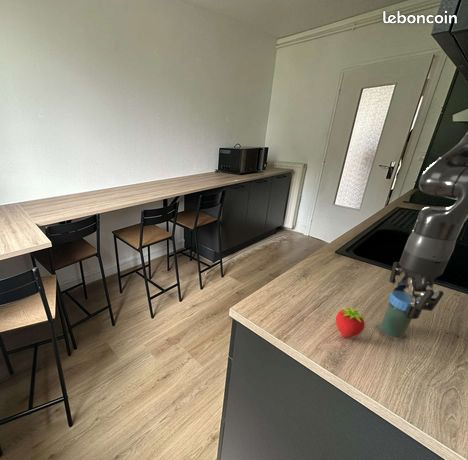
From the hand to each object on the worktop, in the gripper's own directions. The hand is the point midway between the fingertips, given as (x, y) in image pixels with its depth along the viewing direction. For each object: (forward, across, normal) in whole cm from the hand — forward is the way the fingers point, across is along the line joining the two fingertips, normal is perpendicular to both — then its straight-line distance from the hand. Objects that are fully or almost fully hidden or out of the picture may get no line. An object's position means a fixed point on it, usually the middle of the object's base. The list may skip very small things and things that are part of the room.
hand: (402, 309), depth 65 cm
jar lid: (-3, 0, 0) cm, 3 cm away
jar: (+7, 0, 0) cm, 7 cm away
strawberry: (+8, +5, -14) cm, 16 cm away
